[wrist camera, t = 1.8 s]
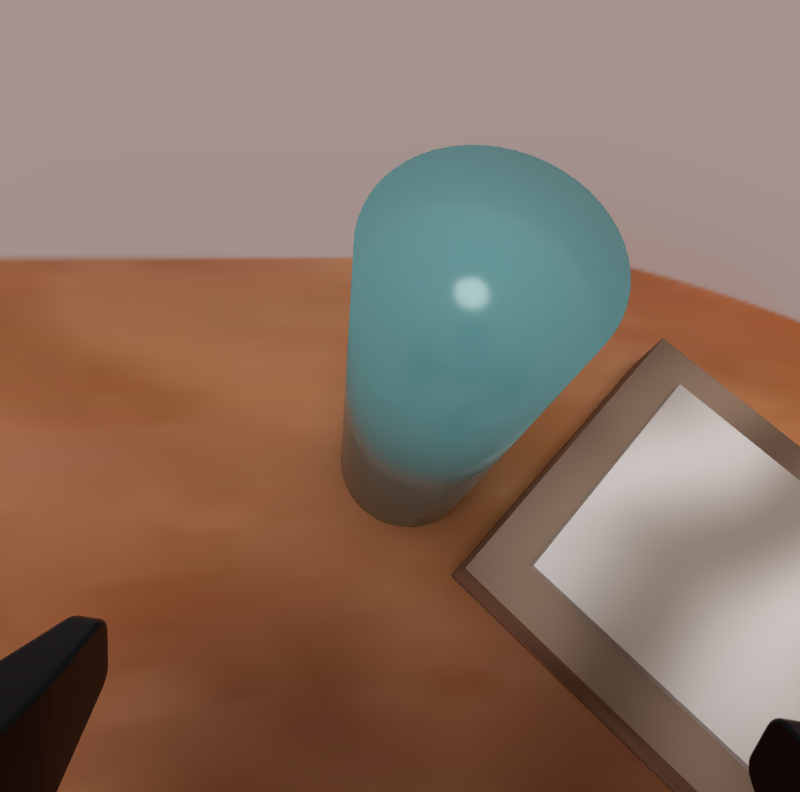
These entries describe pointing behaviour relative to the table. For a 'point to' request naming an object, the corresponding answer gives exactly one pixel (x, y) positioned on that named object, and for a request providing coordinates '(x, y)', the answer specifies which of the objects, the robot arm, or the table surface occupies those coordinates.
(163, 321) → the table surface
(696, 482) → the picture frame
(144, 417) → the table surface
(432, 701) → the table surface
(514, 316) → the teal cylinder
